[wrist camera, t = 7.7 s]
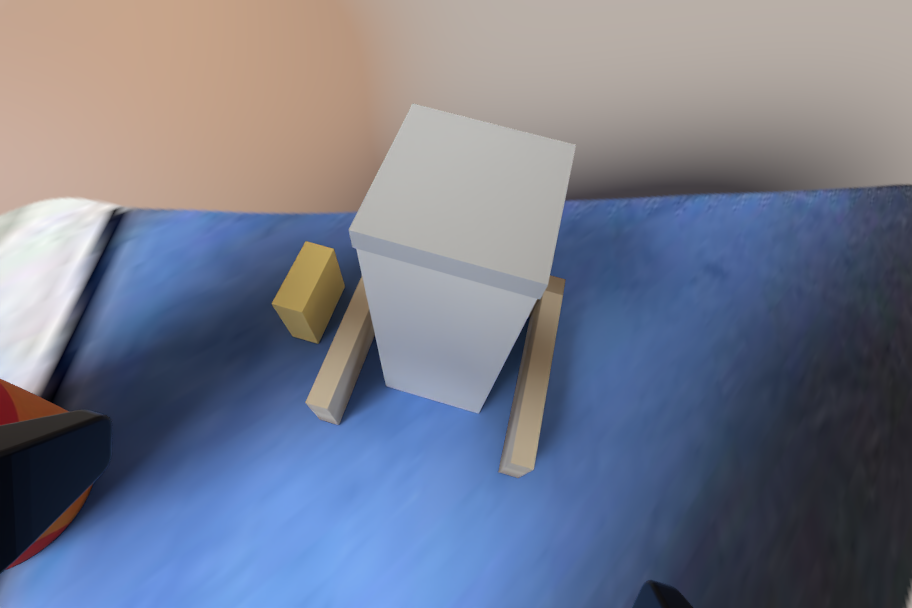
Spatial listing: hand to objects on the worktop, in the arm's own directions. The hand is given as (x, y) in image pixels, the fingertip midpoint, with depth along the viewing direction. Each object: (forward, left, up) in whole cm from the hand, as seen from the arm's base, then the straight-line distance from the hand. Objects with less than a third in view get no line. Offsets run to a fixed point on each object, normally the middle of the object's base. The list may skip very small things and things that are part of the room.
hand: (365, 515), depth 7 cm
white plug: (+6, +3, -10) cm, 12 cm away
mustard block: (+4, +9, -10) cm, 14 cm away
